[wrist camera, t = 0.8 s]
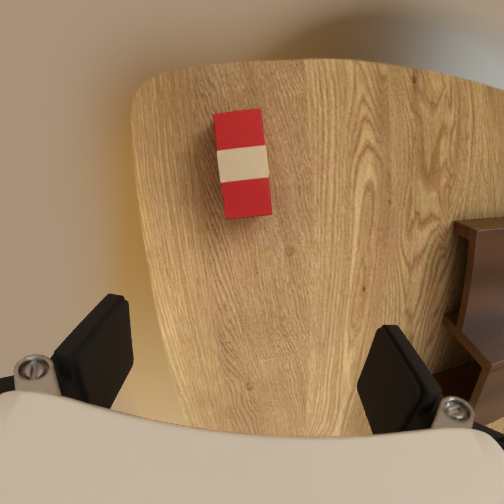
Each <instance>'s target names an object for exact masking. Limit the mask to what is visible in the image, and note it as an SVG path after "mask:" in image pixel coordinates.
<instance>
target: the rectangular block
mask: <svg viewBox="0 0 504 504" xmlns="http://www.w3.org/2000/svg"><path fill="white" fill-rule="evenodd" d="M213 119H214V128H215V137H216V145H217V160H218V169H219V177H220V183H221V186H222V194H223V202H224V210H225V217H226V219H235V218H245V217H254V216H264V215H272V206H271V197H270V187H269V171H268V161H267V152H266V145H265V141H264V132H263V123H262V115H261V109H251V110H242V111H234V112H226V113H219V114H214V115H213Z"/></svg>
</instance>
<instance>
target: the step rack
mask: <svg viewBox="0 0 504 504" xmlns="http://www.w3.org/2000/svg"><path fill="white" fill-rule="evenodd" d="M454 233H456V234H458V235H460V236H462V237H464V238H466V239H468V240H469V247H468V257H467V266H466V274H465V281H464V287H463V294H462V300H461V305H460V310H459V311H458V312H454V313H449V314H445V315H444V318H443V325H444V326H445V327H446V328H447V329H448V330H449V331H450V332H451V333H452V334H453V335H454V336H455V338H456V339H457V340H458V341H459V342H460V343H461V344H462V345H463V346H464V348H465V349H466V350H467V351H468V352H469V353H470V354H471V355H472V357H473V358H474V359H475V360H476V361H477V362H474V363H471V364H468V365H465V366H462V367H459V368H456V369H453V370H450V371H446V372H443V373H440V374H436V375H433V377H434V379H435V380H436V382H437V383H438V385H439V386H440V388H441V389H442V393H441V394H440V396H441V398H442V399H443V398H445V397H448V396H456V397H460V398H462V399H464V400H466V401H467V402H468V403H469V404H470V405H471V406H472V408H473V410H474V421H475V422H477V423H479V424H481V425H484V426H485V425H487V424H490V423H492V422H494V421H496V420H498V419H500V418H502V417H504V217H499V218H486V219H473V220H460V221H454Z"/></svg>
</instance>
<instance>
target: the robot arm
mask: <svg viewBox="0 0 504 504" xmlns="http://www.w3.org/2000/svg"><path fill="white" fill-rule="evenodd" d="M133 360H134V359H133V350H132V339H131V328H130V315H129V304H128V301H127V300H125V299H124V297H123V296H121V295H115V294H108V295H107V296H106V297H105V298H104V299H103V300H102V301H101V302H100V303H99V304H98V305H97V306H96V307H95V308H94V309H93V310H92V311H91V312H90V313H89V314H88V315H87V316H86V318H85V319H84V320H83V321H82V322H81V323H80V324H79V325H78V326H77V327H76V328H75V329H74V330H73V332H72V333H71V334H70V335H69V336H68V337H67V338H66V339H65V340H64V341H63V343H61V345H60V346H59V347H58V348H57V349H56V350H55V351H54V354H53V356H52V357H51V358H50V359H49V358H48V357H46V356H44V355H29V356H26V357H24V358H22V359H21V360H19V361H18V362H17V364H16V365H15V367H14V375H13V376H9V377H4V378H0V504H504V434H502V433H500V432H497V431H495V430H493V429H490V428H488V427H486V426H484V425H481V424H479V423H477V422H475V421H474V410H473V408H472V406H471V405H470V404H469V403H468V402H467V401H466V400H464V399H462V398H460V397H456V396H448V397H445V398H443V399H442V398H441V396H440V394H441V393H442V389H441V388H440V386H439V385H438V383H437V382H436V380H435V379H434V377H433V376H432V374H431V373H430V371H429V370H428V368H427V367H426V365H425V364H424V362H423V361H422V359H421V358H420V356H419V355H418V354H417V352H416V351H415V349H414V348H413V346H412V345H411V343H410V342H409V341H408V339H407V338H406V336H405V335H404V334H403V332H402V331H401V329H400V328H399V327H398V326H397V325H383V326H382V327H381V328H379V329H377V331H376V334H375V337H374V340H373V343H372V345H371V348H370V351H369V354H368V357H367V359H366V362H365V365H364V367H363V370H362V372H361V375H360V377H359V380H358V383H357V390H358V393H359V396H360V399H361V401H362V404H363V407H364V410H365V413H366V416H367V418H368V421H369V424H370V427H371V430H372V433H373V435H358V436H332V437H301V436H273V435H258V434H245V433H235V432H226V431H218V430H210V429H203V428H196V427H190V426H184V425H177V424H172V423H167V422H162V421H157V420H152V419H148V418H143V417H139V416H135V415H130V414H126V413H122V412H119V411H115V410H111V409H110V408H111V406H112V404H113V402H114V400H115V398H116V396H117V394H118V392H119V390H120V389H121V387H122V385H123V383H124V381H125V379H126V377H127V375H128V373H129V372H130V370H131V368H132V365H133Z"/></svg>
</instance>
